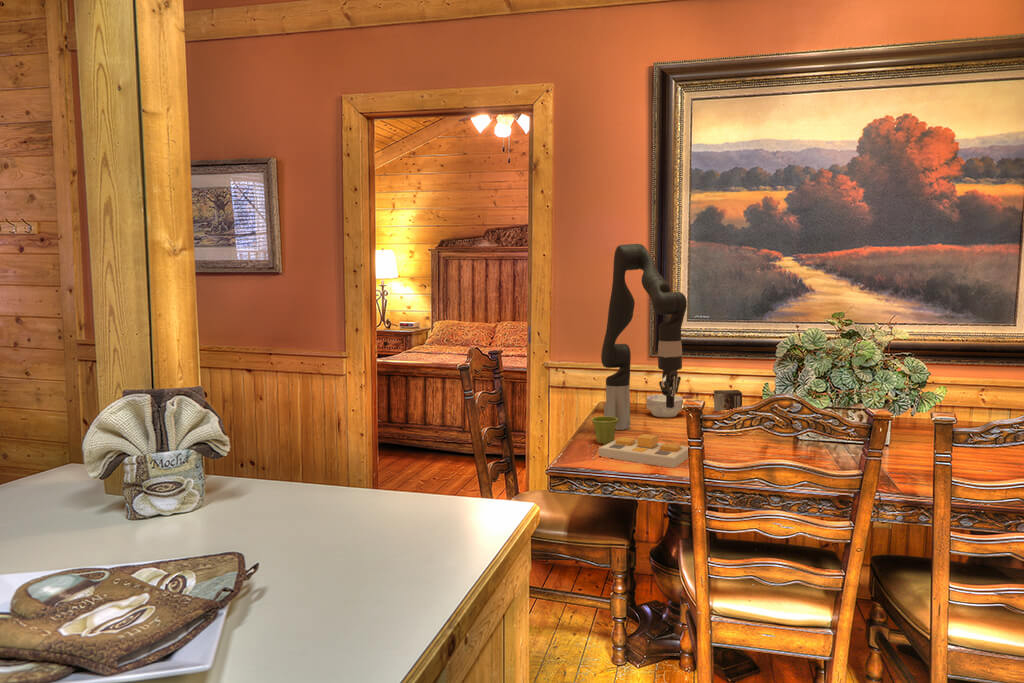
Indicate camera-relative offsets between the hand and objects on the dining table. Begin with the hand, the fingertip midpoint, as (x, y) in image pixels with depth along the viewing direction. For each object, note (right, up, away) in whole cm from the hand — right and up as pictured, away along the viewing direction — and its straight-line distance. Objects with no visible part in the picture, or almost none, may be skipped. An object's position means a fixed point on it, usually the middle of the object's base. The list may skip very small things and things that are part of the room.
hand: (670, 407), depth 212 cm
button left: (-13, -15, +11) cm, 22 cm away
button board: (-7, -17, +5) cm, 19 cm away
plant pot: (-18, -15, +24) cm, 34 cm away
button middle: (-6, -13, +6) cm, 16 cm away
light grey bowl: (+14, -10, +67) cm, 69 cm away
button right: (0, -15, +1) cm, 16 cm away
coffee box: (+29, -13, +31) cm, 45 cm away
